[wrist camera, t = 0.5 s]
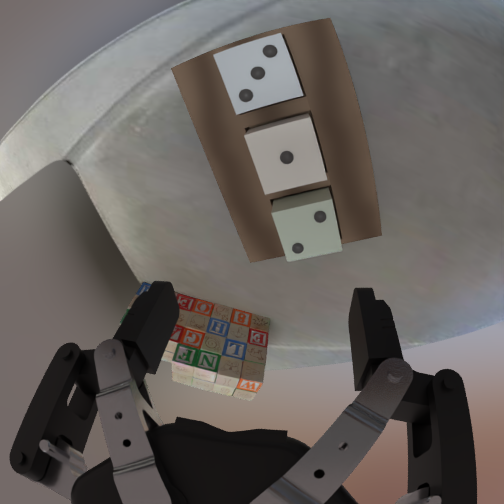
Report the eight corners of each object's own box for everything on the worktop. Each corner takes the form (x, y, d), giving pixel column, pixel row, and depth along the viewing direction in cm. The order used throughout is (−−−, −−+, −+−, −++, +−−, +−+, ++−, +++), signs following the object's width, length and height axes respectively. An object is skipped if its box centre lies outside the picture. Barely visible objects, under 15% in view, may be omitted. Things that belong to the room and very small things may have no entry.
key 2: (328, 187, 29) (332, 200, 26) (338, 235, 32) (342, 251, 29) (273, 199, 30) (271, 213, 27) (288, 245, 33) (287, 263, 30)
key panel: (326, 23, 21) (330, 17, 18) (375, 222, 33) (381, 235, 30) (181, 68, 25) (170, 68, 23) (253, 248, 37) (250, 262, 35)
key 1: (308, 113, 25) (310, 117, 22) (323, 169, 28) (327, 180, 25) (249, 129, 26) (243, 135, 23) (267, 183, 29) (264, 195, 26)
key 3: (281, 38, 21) (280, 32, 18) (302, 94, 24) (303, 95, 21) (221, 57, 22) (212, 54, 19) (242, 111, 25) (235, 115, 22)
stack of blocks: (144, 306, 47) (115, 360, 37) (143, 280, 44) (109, 337, 34) (261, 340, 48) (252, 402, 38) (271, 317, 44) (263, 384, 34)
